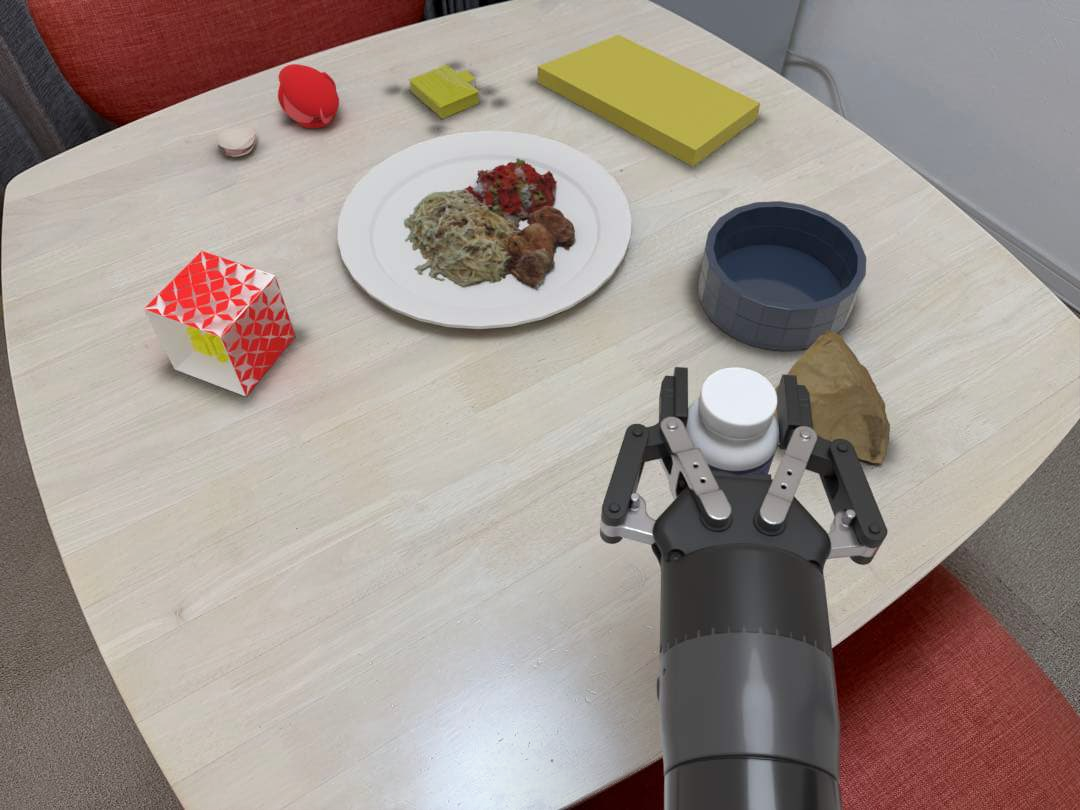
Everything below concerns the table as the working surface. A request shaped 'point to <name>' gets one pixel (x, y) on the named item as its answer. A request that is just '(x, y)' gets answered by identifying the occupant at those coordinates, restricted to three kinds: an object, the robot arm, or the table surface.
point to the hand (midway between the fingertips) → (731, 381)
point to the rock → (843, 397)
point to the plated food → (484, 229)
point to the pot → (780, 274)
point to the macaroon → (236, 140)
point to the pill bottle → (735, 421)
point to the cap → (307, 95)
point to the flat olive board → (651, 97)
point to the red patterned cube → (222, 322)
